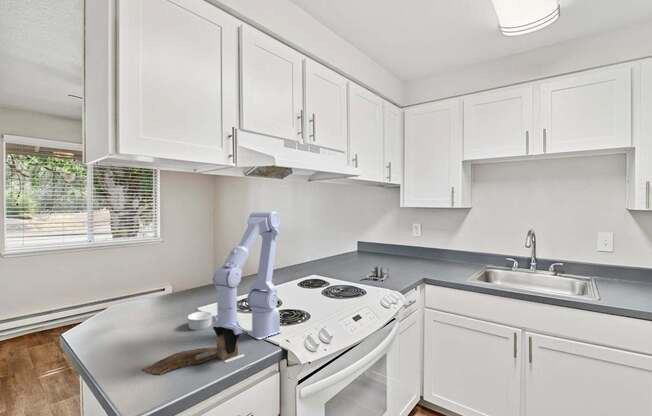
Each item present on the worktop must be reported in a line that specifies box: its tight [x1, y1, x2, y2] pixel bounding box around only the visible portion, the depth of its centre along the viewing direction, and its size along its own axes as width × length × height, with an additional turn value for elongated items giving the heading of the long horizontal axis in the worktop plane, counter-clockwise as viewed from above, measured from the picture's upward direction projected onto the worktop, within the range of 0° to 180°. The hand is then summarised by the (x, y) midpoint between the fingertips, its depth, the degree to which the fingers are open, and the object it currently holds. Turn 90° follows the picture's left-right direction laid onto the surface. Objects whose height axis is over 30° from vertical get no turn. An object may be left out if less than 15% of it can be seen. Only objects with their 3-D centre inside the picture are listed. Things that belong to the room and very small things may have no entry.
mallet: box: [195, 335, 239, 361], centre depth 94 cm, size 12×4×6 cm, turn 134°
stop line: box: [223, 354, 246, 364], centre depth 94 cm, size 6×1×1 cm, turn 134°
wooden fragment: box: [141, 346, 219, 376], centre depth 95 cm, size 26×11×1 cm, turn 125°
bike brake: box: [359, 265, 391, 282], centre depth 197 cm, size 14×7×20 cm
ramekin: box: [187, 310, 214, 331], centre depth 120 cm, size 9×9×4 cm
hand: (227, 350), depth 97 cm, fingers closed on mallet, 4 cm apart
